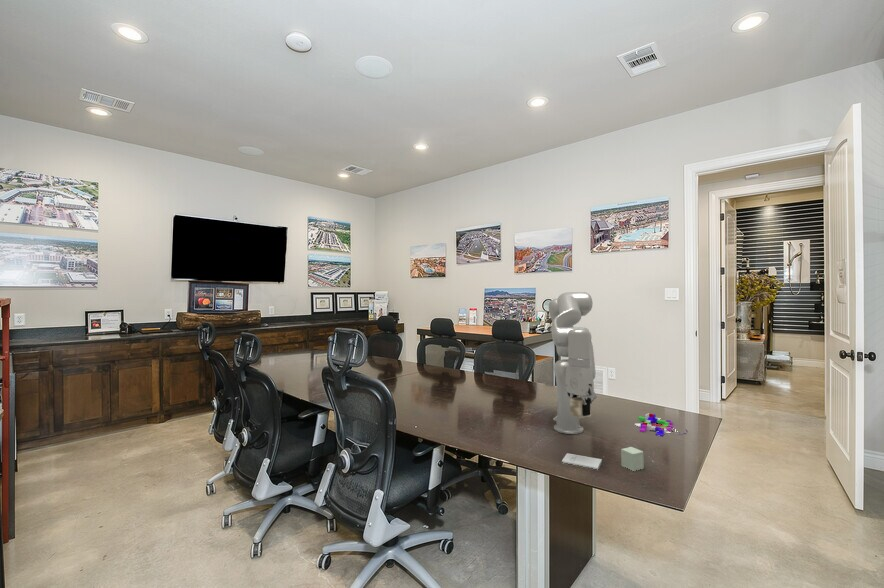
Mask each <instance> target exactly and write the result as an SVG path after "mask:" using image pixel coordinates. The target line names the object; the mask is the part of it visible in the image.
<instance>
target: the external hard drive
mask: <svg viewBox="0 0 884 588" xmlns="http://www.w3.org/2000/svg"><path fill="white" fill-rule="evenodd" d="M562 462H563V463H562ZM561 463H562V464H564V463H568V464H573V465H579V466H583V467H589V468H593V469H597V470H596V471H599V470H600V467H601V465H602V463H603V459H602V458H597V457H593V456H592V457H591V456H585V455H580V454H574V453H566V454H565V456H563V458H562V460H561ZM568 464H567V465H568ZM573 465H572V466H573ZM583 467H582V468H583ZM593 469H592V470H593ZM598 469H599V470H598Z"/></svg>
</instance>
